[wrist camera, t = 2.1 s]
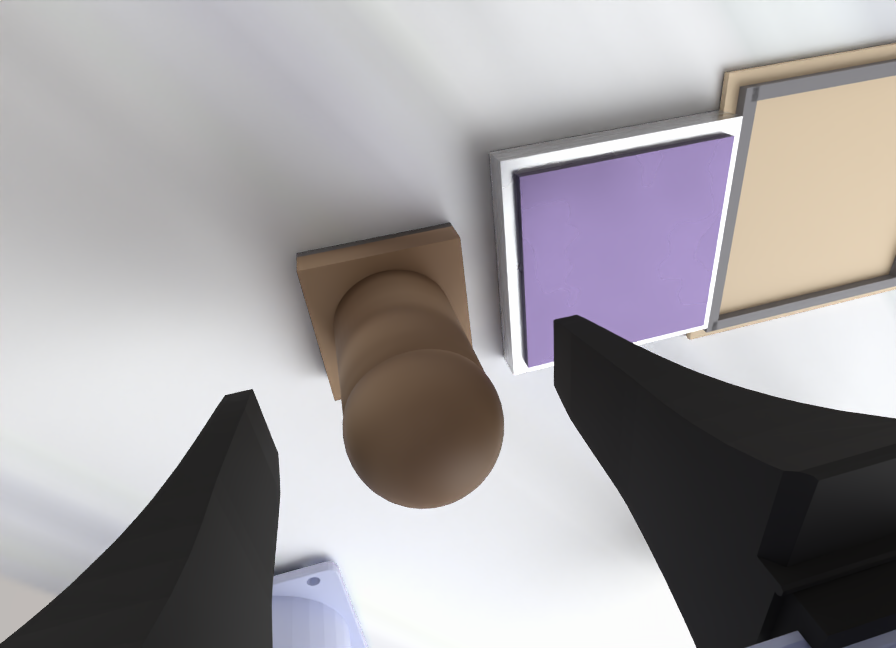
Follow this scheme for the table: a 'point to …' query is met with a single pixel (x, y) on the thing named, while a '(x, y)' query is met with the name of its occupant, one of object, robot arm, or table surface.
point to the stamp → (404, 364)
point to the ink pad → (611, 231)
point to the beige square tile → (808, 187)
